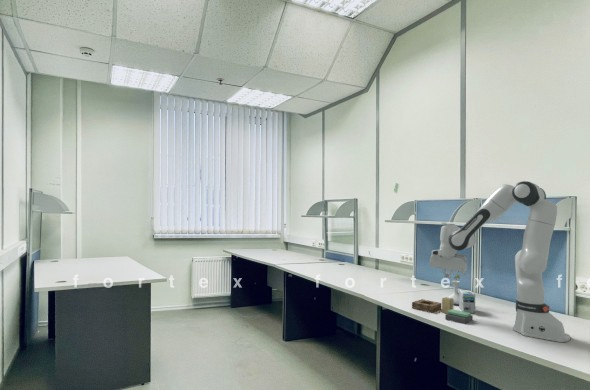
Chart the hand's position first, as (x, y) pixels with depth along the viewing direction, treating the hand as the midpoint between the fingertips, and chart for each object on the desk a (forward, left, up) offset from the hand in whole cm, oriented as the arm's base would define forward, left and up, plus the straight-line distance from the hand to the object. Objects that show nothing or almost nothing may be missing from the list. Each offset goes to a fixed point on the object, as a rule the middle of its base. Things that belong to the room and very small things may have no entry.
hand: (447, 277), depth 210 cm
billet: (0, 0, -20) cm, 20 cm away
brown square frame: (+12, +1, -20) cm, 23 cm away
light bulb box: (-5, -14, -20) cm, 25 cm away
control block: (-10, +9, -20) cm, 24 cm away
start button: (-10, +9, -19) cm, 23 cm away
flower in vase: (+6, -26, -20) cm, 34 cm away
